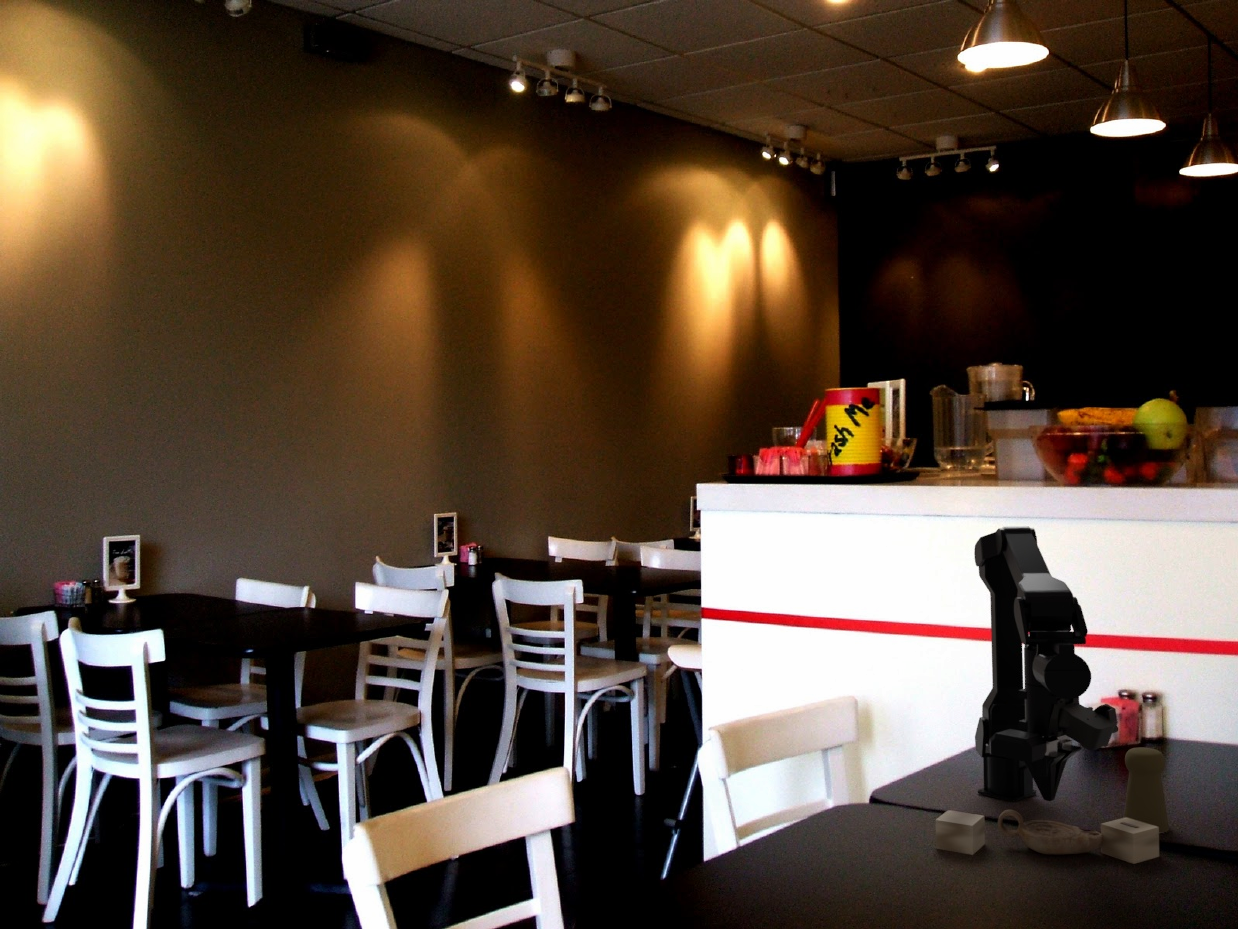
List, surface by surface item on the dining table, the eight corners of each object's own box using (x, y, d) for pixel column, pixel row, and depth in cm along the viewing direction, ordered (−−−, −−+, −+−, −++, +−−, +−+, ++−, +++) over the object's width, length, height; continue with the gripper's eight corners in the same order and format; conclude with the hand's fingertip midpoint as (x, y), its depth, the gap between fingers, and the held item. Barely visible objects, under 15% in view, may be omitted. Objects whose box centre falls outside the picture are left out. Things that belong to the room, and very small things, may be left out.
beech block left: (936, 849, 166) (935, 820, 166) (948, 839, 170) (948, 810, 170) (972, 856, 163) (972, 825, 163) (984, 845, 167) (984, 815, 167)
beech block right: (1101, 854, 163) (1100, 823, 163) (1126, 847, 165) (1126, 816, 165) (1133, 865, 159) (1133, 833, 158) (1159, 857, 161) (1158, 826, 161)
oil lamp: (1104, 848, 165) (1103, 811, 165) (1100, 866, 158) (1099, 828, 158) (1002, 837, 170) (1001, 801, 170) (994, 854, 164) (993, 816, 164)
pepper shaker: (1174, 835, 169) (1173, 755, 169) (1127, 833, 170) (1126, 754, 170) (1163, 821, 175) (1162, 744, 175) (1118, 819, 176) (1117, 743, 176)
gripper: (1065, 703, 152) (1066, 830, 152) (1141, 681, 163) (1142, 798, 164) (986, 690, 160) (988, 810, 160) (1063, 670, 172) (1065, 782, 172)
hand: (1048, 800), depth 164 cm, fingers closed
